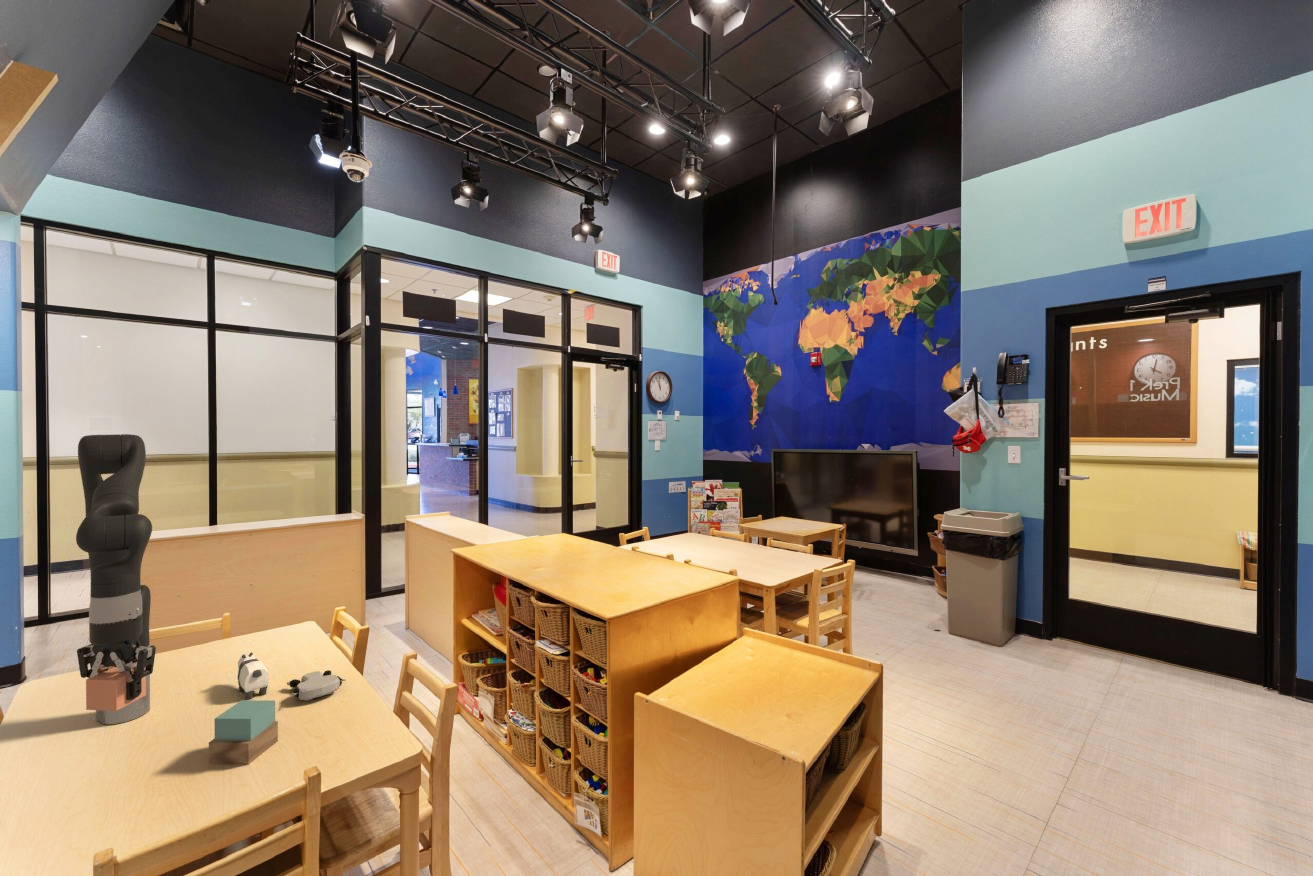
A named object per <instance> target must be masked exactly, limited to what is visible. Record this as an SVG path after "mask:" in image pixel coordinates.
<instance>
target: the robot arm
mask: <svg viewBox="0 0 1313 876" xmlns="http://www.w3.org/2000/svg"><path fill="white" fill-rule="evenodd" d="M146 453H147V452H146V445H145V441H144V439H143V438H142V437H141V436H140V435H137V434H127V433H126V434H125V433H123V434H90V435H84V436H82V437H81V438H80V439H79V441H78V445H77V459H78V465H79V466H78V467H79V471H80V477H81V478H80V479H81V484H82V489H83V495H84V496H83V497H84V503H85V505H84V507H85V517H84V518H83V520H82V521H81V523H80V524H79V527H78V528H77V531H76V535H75V536H76V537H75V541H76V545H77V546H78V547H79V549H80V550H82V551H83V552H85V553H88V560H89V562H88V563H89V569H90V570H89V571H90V593H89V594H90V596H89V599H90V601H89V606H88V620H89V621H88V623H89V624H88V630H89V631H88V632H89V635H88V636H89V643H90V644H87V645H85V646H82V647H80V648H78V649H77V650H76V654H77V655H76V656H77V661H78V668H79V669H78V670H79V672H80V673H79V676H80V677H81V678H82V679H85V678H86V679H88V678H91V677H93V676H95V675H99V674H100V673H102V672H104V671H108V670H110V669H111V668H113V667H117V668H118V670H119V672H120V673H123V674H124V676H126V680H127V683H126V699H127V700H133V699H135V698H137V697H138V696H139V695H140V694H141V692H142V689H141V688H142V687H141V686H142V682H141V680H142V678H143V677H145V676H146V695H145V696H144V697H142V698H140V699H138V700H136V701H134V702H132V703H130V704H128V705H126V706H125V707H123V708H121V709H119V710H117V711H109V710H95V721H96V720H98V722H100V724H101V725H116V724H122V723H126V722H130V721H133V720H135V719H137V718H140V717H142V716H144V715H146V714H147V713H148V712H149V711H150V710H151V674H153V671H154V666H155V657H156V651H157V647H156V645H150V642H151V641H150V619H151V618H150V615H151V600H152V598H151V596H152V595H151V590H150V588H149V586H148V585H146V584H141V573H142V572H141V569H142V561H143V558H144V554H145V552H146V549H147V546H148V543H149V541H150V538H151V536H152V533H153V524H152V522H151V520H150V519H149V517H148V516H147V515H144V514H139V512H140V500H139V493H140V492H139V491H140V486H141V483H142V479H143V477H144V471H145V467H146V460H147V459H146V458H147V457H146V455H147V454H146ZM102 475H109V476H108V477H107V478H105V479H103V477H102ZM144 668H145V670H144ZM131 669H133V670H134V671H135V674H133V673H132V671H131Z"/></svg>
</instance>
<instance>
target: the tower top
mask: <svg viewBox="0 0 1313 876" xmlns="http://www.w3.org/2000/svg"><path fill="white" fill-rule="evenodd" d="M275 721H276V700H267V699H266V700H265V699H264V700H263V699H262V700H261V699H258V700H253V699H249V700H246V699H245V700H243V699H242V700H240V701H238V702H237V703H235V704H234V705H232V706H230V707H229V708H228V709H226V710H225V711H224V712H222V713H220V714H219V715H218V716H217V717H215V718H214V739H215V741H251V740H252V739H254V738H255V737H256V736H257V735H259V734H260V733H261V732H262V731H264V730H265V729H266V728H267V727H269V726H270V725H271V724H272V723H274V722H275Z"/></svg>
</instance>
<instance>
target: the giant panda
mask: <svg viewBox="0 0 1313 876" xmlns="http://www.w3.org/2000/svg"><path fill="white" fill-rule="evenodd" d="M237 668H238V671H237V682H238V692H239V693H240V694H243V693H244V694H245V696H244V699H245V700H253V693H254V691H255V690H258V695H259V696H265V695H267V689H268V686H269V682H270V677H269V671H268V669H267V667H266V666H265V664H264V663H263V662H262V661H261V660H259V659H258V658H257V657H255V655H254V652H250V653H249V654H242V655H241V656H240V658H239V659H238V661H237Z"/></svg>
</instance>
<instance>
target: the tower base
mask: <svg viewBox="0 0 1313 876" xmlns="http://www.w3.org/2000/svg"><path fill="white" fill-rule="evenodd" d="M278 725H279V721H278V720H277V721H276V720H275V722H274V723H272V724H271V725H270V726H269V727H267V728H266V729H265V730H264V731H262V732H261V733H260V734H259V735H257V736H256V737H255V738H254V739H252V740H251V741H215V738H213V739H211V740H210V741H209V742H208V765H209V764H210V765H243V766H246V765H247V766H249V765H250V764H251V763H253V762H254V761H255V760H257V759H258V758H259V757H260V756H261V755H262V754H264V753H266V751H268V750H269V749H270V748H271V747H273V746H274V745H275V744H276V743H277V742H278V741H279V739H278V738H279V731H278V729H279V726H278Z"/></svg>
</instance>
